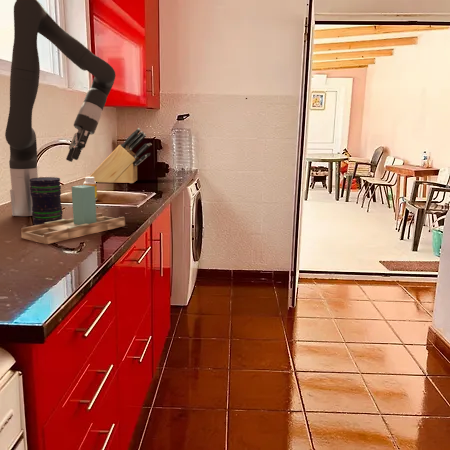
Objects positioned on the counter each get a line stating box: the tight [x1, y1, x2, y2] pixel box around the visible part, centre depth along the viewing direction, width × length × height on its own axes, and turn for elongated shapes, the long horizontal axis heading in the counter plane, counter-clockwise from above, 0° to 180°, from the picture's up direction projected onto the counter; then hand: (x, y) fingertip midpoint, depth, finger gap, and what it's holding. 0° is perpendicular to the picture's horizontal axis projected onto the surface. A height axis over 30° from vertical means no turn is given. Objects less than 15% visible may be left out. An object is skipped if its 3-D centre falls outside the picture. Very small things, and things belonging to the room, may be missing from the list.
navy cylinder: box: [30, 176, 63, 225], centre depth 158 cm, size 10×10×15 cm
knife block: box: [88, 127, 153, 184], centre depth 264 cm, size 11×35×31 cm, turn 89°
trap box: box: [20, 212, 126, 245], centre depth 146 cm, size 30×12×3 cm, turn 145°
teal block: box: [71, 184, 97, 225], centre depth 147 cm, size 5×5×12 cm
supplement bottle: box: [82, 176, 98, 201], centre depth 204 cm, size 6×6×10 cm
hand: (71, 160), depth 162 cm, fingers open, 8 cm apart
